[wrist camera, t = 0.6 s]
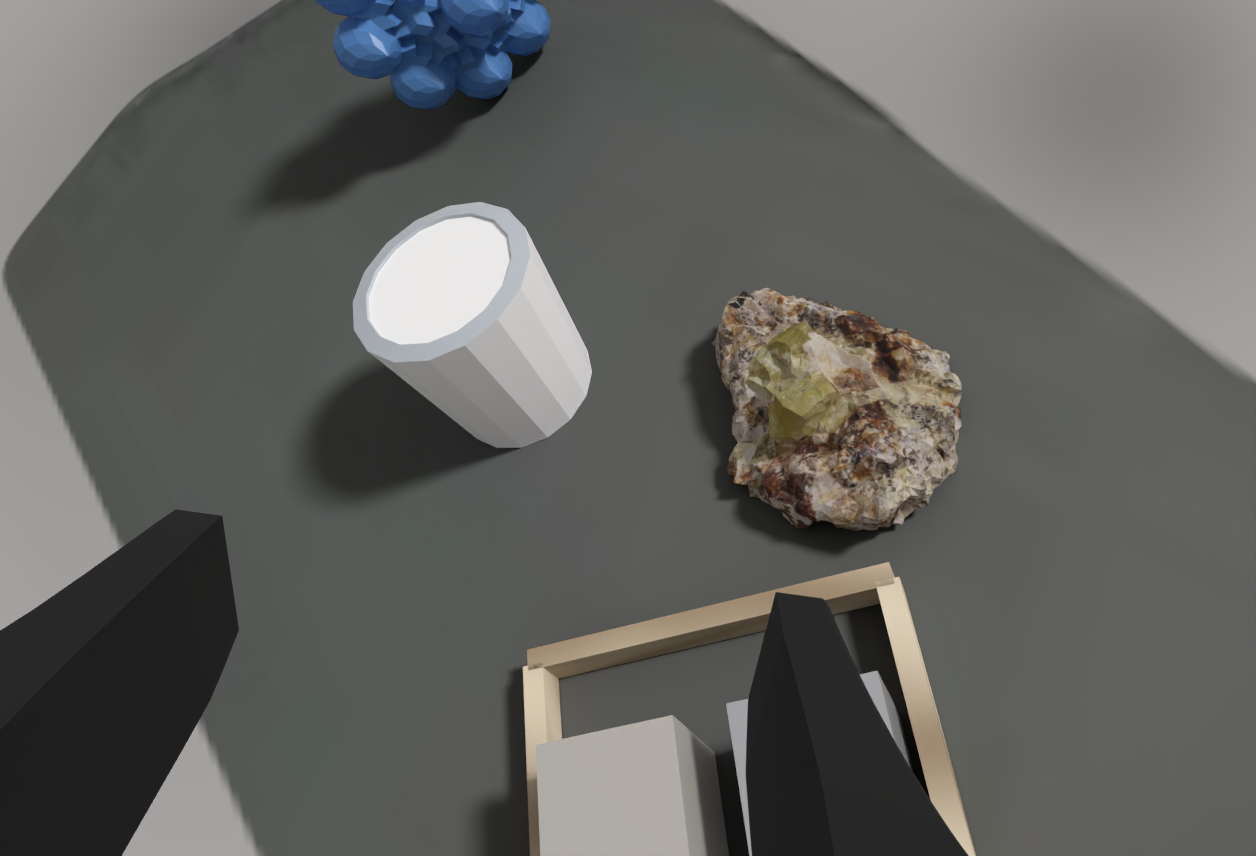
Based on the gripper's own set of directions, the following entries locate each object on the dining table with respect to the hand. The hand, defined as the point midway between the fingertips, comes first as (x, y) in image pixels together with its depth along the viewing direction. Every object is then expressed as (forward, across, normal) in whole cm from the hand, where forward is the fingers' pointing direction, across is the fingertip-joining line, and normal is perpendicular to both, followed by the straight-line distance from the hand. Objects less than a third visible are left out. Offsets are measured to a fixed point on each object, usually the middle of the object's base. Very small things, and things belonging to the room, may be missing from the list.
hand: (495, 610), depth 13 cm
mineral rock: (+20, -8, +9) cm, 24 cm away
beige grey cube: (+8, -4, +17) cm, 19 cm away
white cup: (+24, +3, +12) cm, 27 cm away
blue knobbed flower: (+41, +7, +6) cm, 42 cm away
